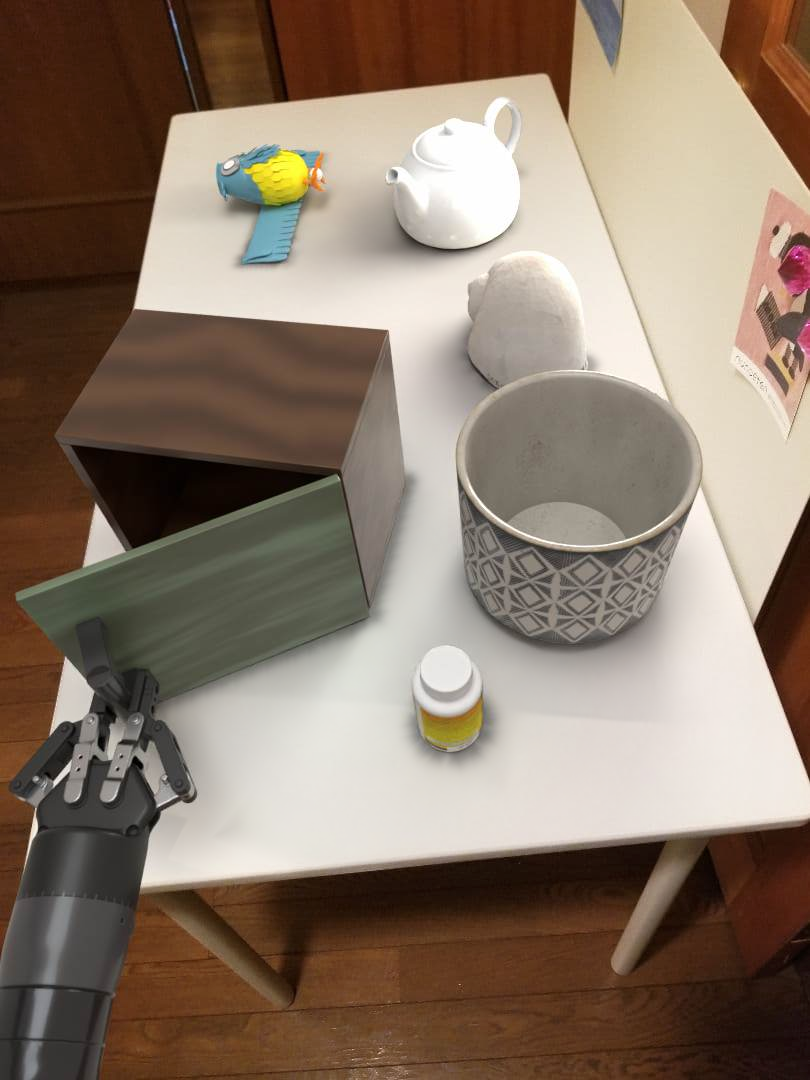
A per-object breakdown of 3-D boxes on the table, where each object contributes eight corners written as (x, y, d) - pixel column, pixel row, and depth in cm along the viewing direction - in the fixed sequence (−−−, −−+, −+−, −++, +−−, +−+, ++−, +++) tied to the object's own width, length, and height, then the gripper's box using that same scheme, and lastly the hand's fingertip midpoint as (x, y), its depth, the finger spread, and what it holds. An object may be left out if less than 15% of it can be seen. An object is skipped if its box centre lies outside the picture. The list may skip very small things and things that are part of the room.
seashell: (539, 353, 105) (478, 255, 99) (631, 325, 95) (570, 213, 88) (486, 427, 98) (417, 326, 91) (580, 404, 87) (510, 288, 81)
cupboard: (370, 608, 76) (340, 469, 60) (139, 573, 81) (53, 435, 65) (406, 480, 85) (388, 329, 69) (196, 455, 90) (134, 308, 74)
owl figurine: (298, 203, 102) (185, 207, 104) (311, 263, 109) (205, 265, 111) (334, 96, 118) (235, 101, 120) (343, 153, 125) (250, 157, 127)
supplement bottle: (494, 736, 68) (496, 682, 60) (435, 765, 67) (429, 714, 58) (463, 682, 71) (461, 624, 63) (406, 709, 70) (396, 653, 62)
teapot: (530, 252, 107) (536, 152, 96) (392, 261, 108) (382, 163, 97) (519, 176, 118) (523, 78, 107) (394, 185, 119) (385, 89, 108)
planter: (688, 525, 79) (729, 404, 66) (628, 689, 69) (663, 586, 56) (505, 469, 85) (509, 347, 72) (427, 612, 75) (415, 502, 62)
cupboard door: (394, 667, 72) (369, 538, 56) (133, 778, 68) (26, 671, 52) (366, 610, 76) (336, 473, 60) (117, 710, 72) (14, 592, 56)
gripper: (160, 901, 49) (205, 648, 59) (-58, 901, 50) (24, 651, 60) (194, 925, 55) (230, 692, 65) (0, 925, 56) (65, 695, 66)
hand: (131, 673), depth 63 cm, fingers closed on cupboard door, 2 cm apart
